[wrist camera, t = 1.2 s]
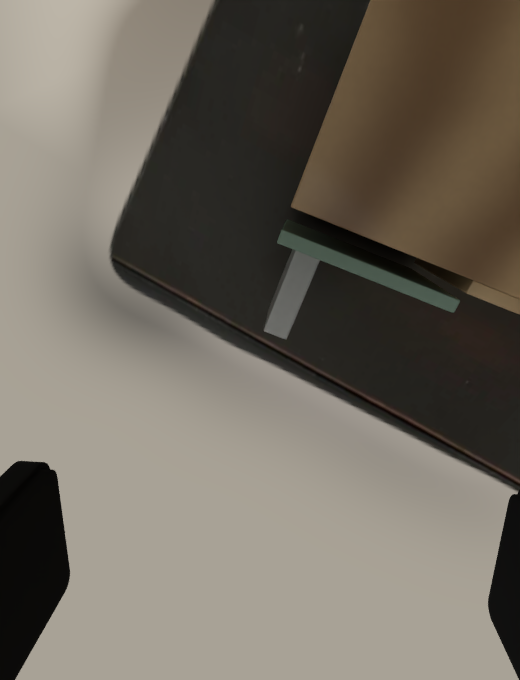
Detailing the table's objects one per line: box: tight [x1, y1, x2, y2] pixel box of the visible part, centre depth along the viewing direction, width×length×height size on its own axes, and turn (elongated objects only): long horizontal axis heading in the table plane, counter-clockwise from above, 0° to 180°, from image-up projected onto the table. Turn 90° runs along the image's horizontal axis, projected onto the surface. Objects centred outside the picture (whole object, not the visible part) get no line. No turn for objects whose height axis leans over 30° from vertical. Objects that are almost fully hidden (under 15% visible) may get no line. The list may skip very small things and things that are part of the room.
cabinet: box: [291, 0, 520, 315], centre depth 22 cm, size 16×10×11 cm, turn 69°
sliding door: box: [264, 219, 460, 339], centre depth 24 cm, size 8×5×9 cm, turn 69°
